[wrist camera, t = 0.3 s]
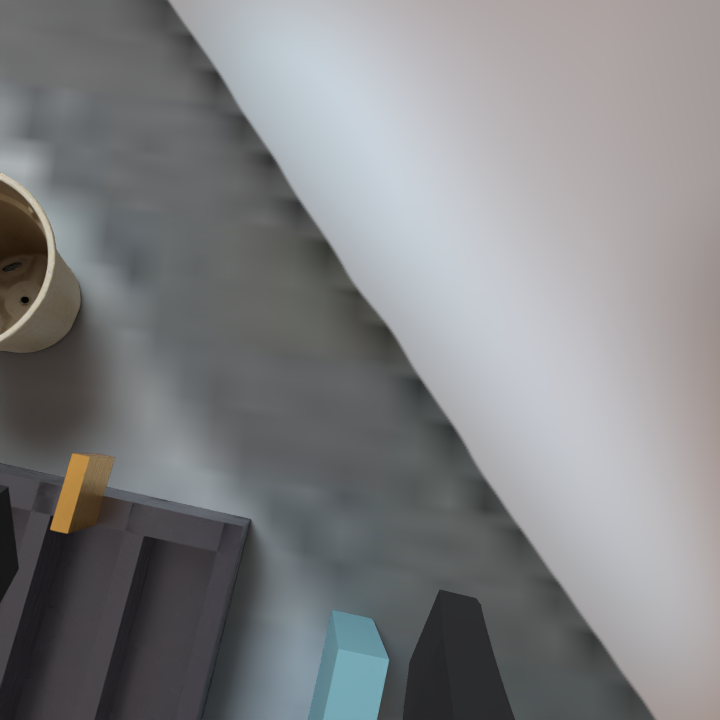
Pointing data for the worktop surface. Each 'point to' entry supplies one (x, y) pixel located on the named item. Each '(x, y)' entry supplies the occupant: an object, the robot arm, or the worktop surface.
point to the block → (350, 671)
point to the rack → (111, 598)
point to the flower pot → (32, 276)
